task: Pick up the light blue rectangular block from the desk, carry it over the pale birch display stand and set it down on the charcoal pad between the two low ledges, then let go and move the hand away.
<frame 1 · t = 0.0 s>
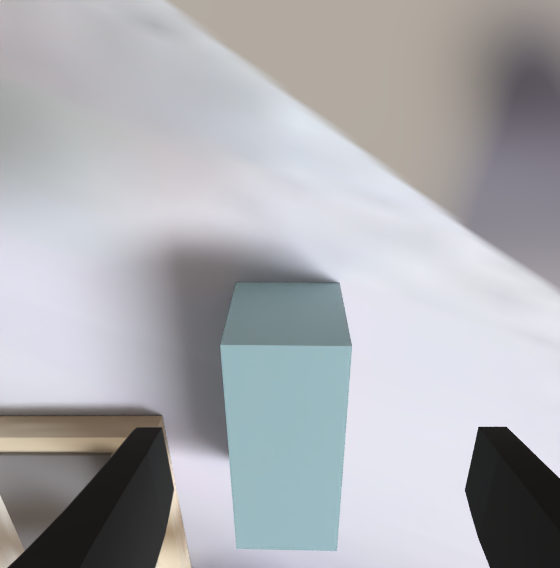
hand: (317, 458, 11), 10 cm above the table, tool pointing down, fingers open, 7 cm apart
display stand: (85, 501, 27), on the table
light blue rectangular block: (287, 380, 23), on the table
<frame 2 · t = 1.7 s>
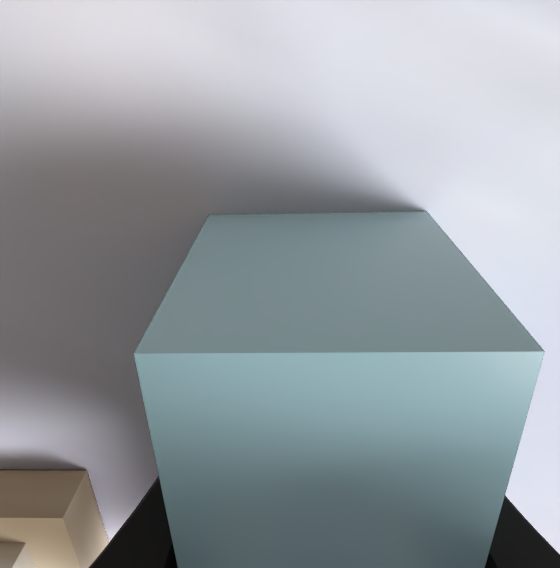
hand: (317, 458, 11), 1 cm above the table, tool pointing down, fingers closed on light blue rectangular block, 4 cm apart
light blue rectangular block: (315, 415, 12), on the table, touching gripper
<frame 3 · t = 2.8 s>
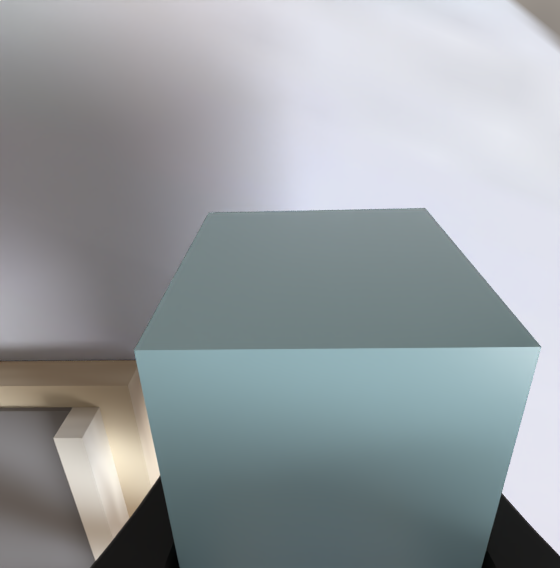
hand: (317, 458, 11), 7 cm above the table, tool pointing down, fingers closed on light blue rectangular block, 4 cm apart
display stand: (45, 478, 21), on the table
light blue rectangular block: (314, 412, 12), point 5 cm above the table, touching gripper
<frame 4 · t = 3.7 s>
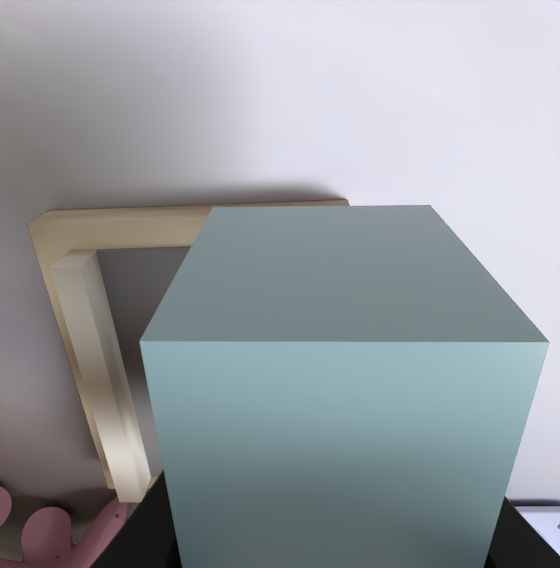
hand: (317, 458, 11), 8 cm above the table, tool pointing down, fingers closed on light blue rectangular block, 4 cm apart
display stand: (215, 352, 20), on the table
pink knobbed toy: (35, 489, 24), on the table
light blue rectangular block: (316, 409, 12), point 7 cm above the table, touching gripper
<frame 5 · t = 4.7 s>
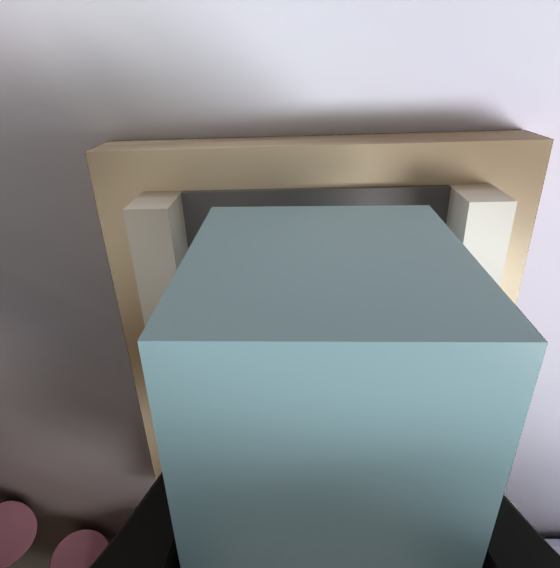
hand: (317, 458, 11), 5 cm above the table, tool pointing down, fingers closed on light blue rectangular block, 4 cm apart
display stand: (312, 341, 15), on the table
pink knobbed toy: (64, 506, 20), on the table
light blue rectangular block: (315, 409, 12), point 3 cm above the table, touching gripper
when the fingers open (4 cm above the table, at t = 5.7 s): light blue rectangular block drops 1 cm, resting on display stand.
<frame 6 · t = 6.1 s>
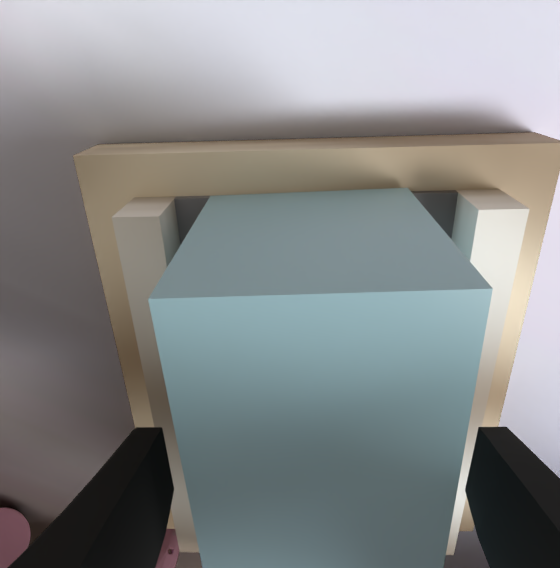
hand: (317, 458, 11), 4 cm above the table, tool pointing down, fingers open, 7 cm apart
display stand: (311, 351, 14), on the table
pink knobbed toy: (59, 513, 19), on the table
light blue rectangular block: (312, 383, 13), point 2 cm above the table, touching display stand
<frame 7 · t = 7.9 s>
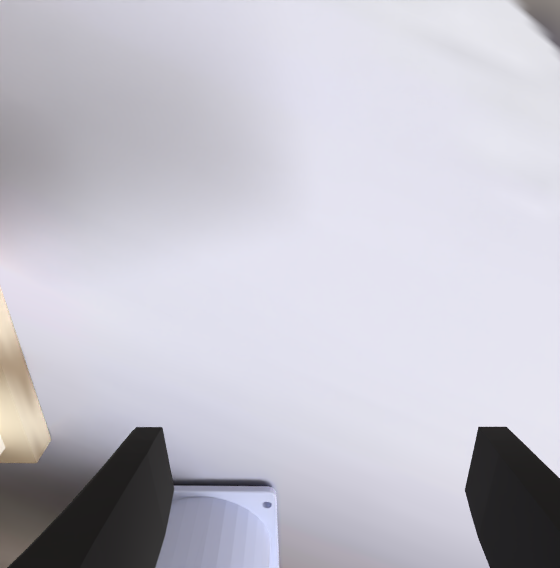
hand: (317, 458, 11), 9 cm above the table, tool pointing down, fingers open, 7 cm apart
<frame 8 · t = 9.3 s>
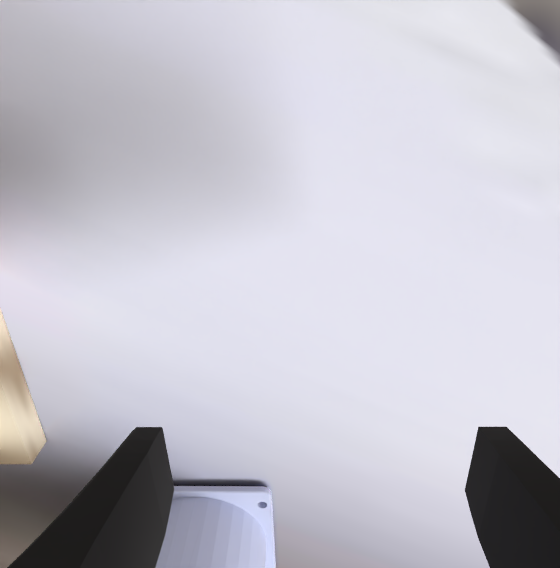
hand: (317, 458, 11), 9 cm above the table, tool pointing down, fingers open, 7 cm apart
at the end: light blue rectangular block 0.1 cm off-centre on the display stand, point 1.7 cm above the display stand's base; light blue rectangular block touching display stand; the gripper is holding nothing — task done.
